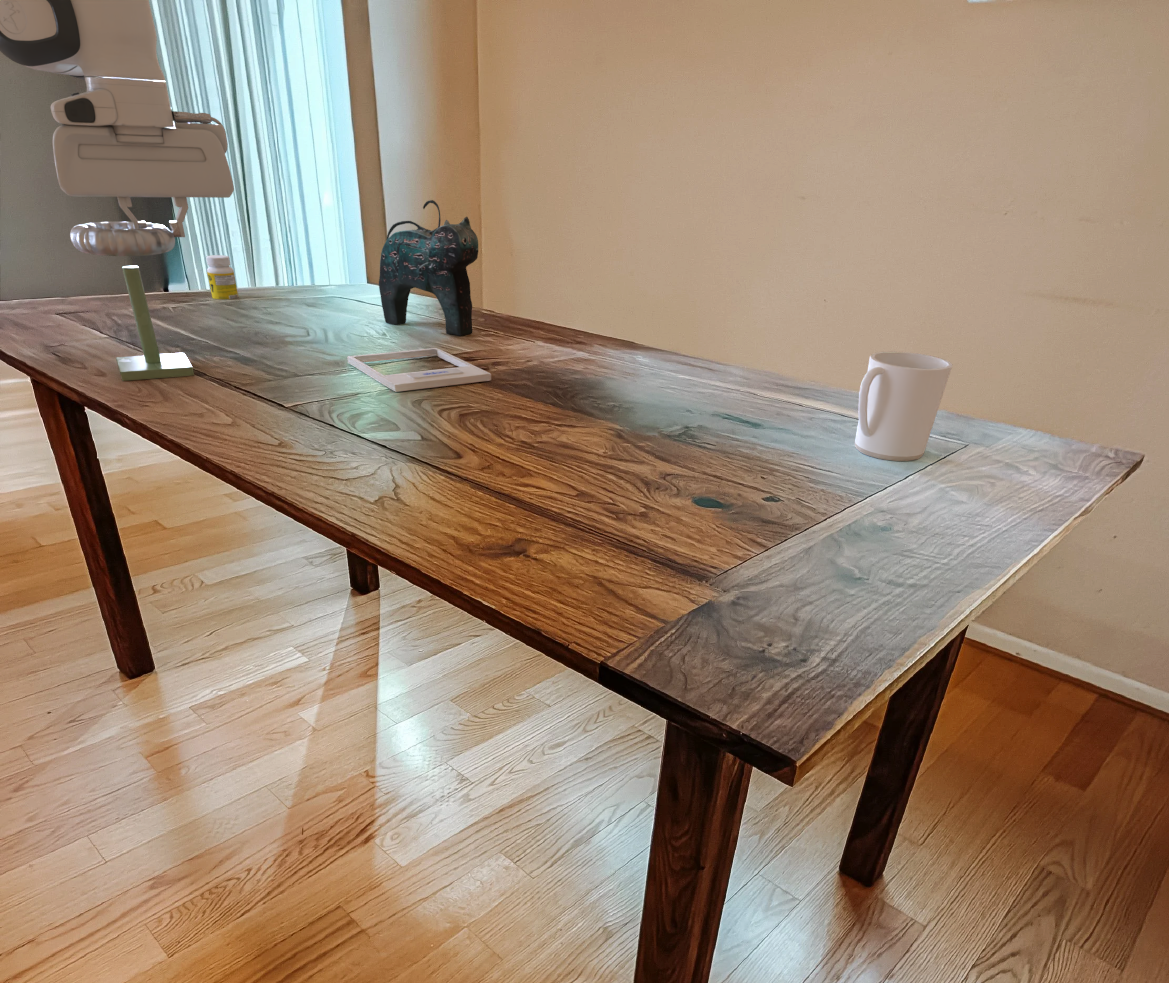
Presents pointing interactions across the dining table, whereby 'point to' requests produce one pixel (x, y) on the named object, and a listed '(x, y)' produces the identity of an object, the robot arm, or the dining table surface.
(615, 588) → the dining table surface
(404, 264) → the ceramic cat
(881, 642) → the dining table surface
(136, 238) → the ring
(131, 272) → the stand
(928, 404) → the mug
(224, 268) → the supplement bottle
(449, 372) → the photo frame
